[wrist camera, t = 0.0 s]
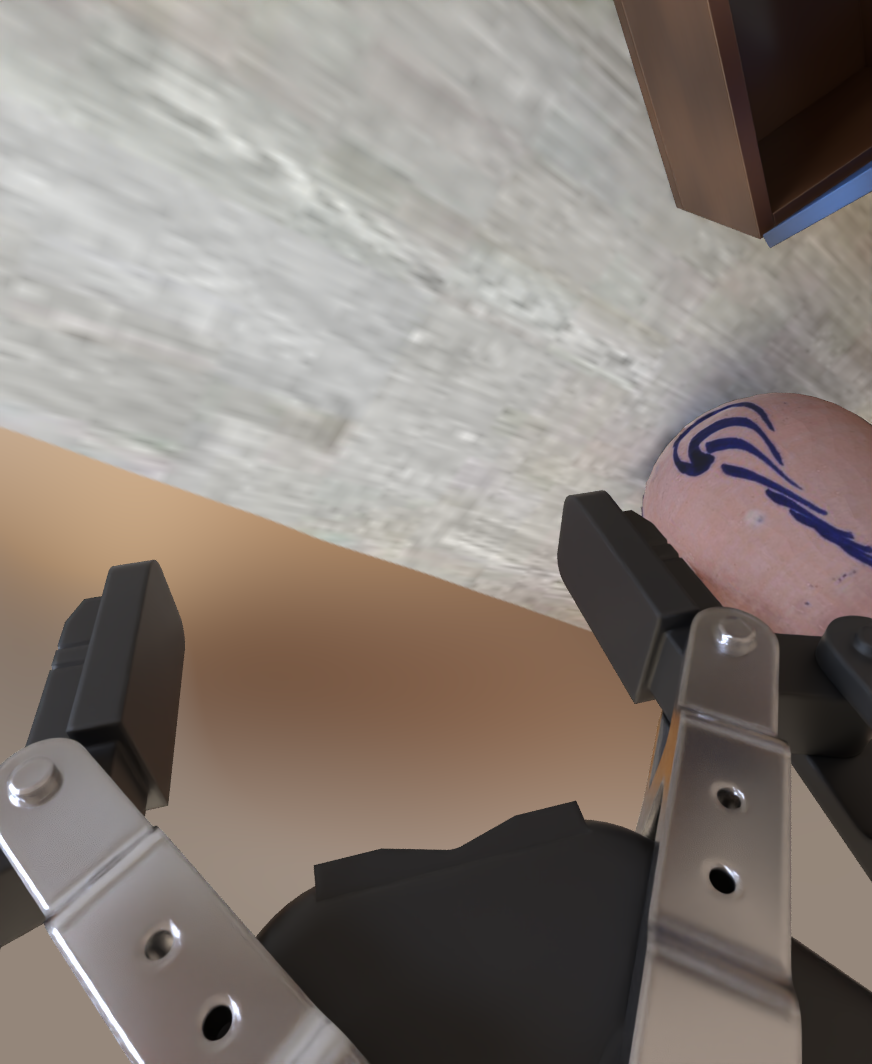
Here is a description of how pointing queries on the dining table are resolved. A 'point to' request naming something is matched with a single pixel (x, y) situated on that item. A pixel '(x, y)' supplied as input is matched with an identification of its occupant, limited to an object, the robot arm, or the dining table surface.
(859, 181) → the lid
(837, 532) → the ceramic pitcher
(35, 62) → the dining table surface
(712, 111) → the storage box
